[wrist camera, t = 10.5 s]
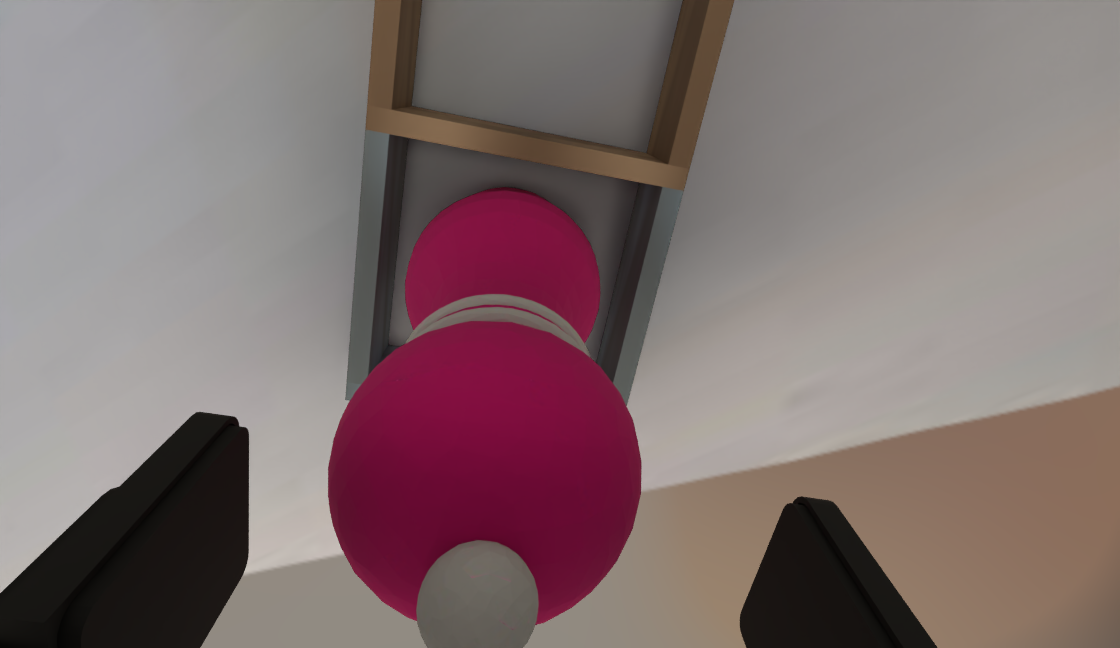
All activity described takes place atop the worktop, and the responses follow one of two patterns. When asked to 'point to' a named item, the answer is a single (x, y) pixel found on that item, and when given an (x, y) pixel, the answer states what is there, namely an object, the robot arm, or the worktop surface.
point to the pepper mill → (488, 433)
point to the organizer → (654, 170)
